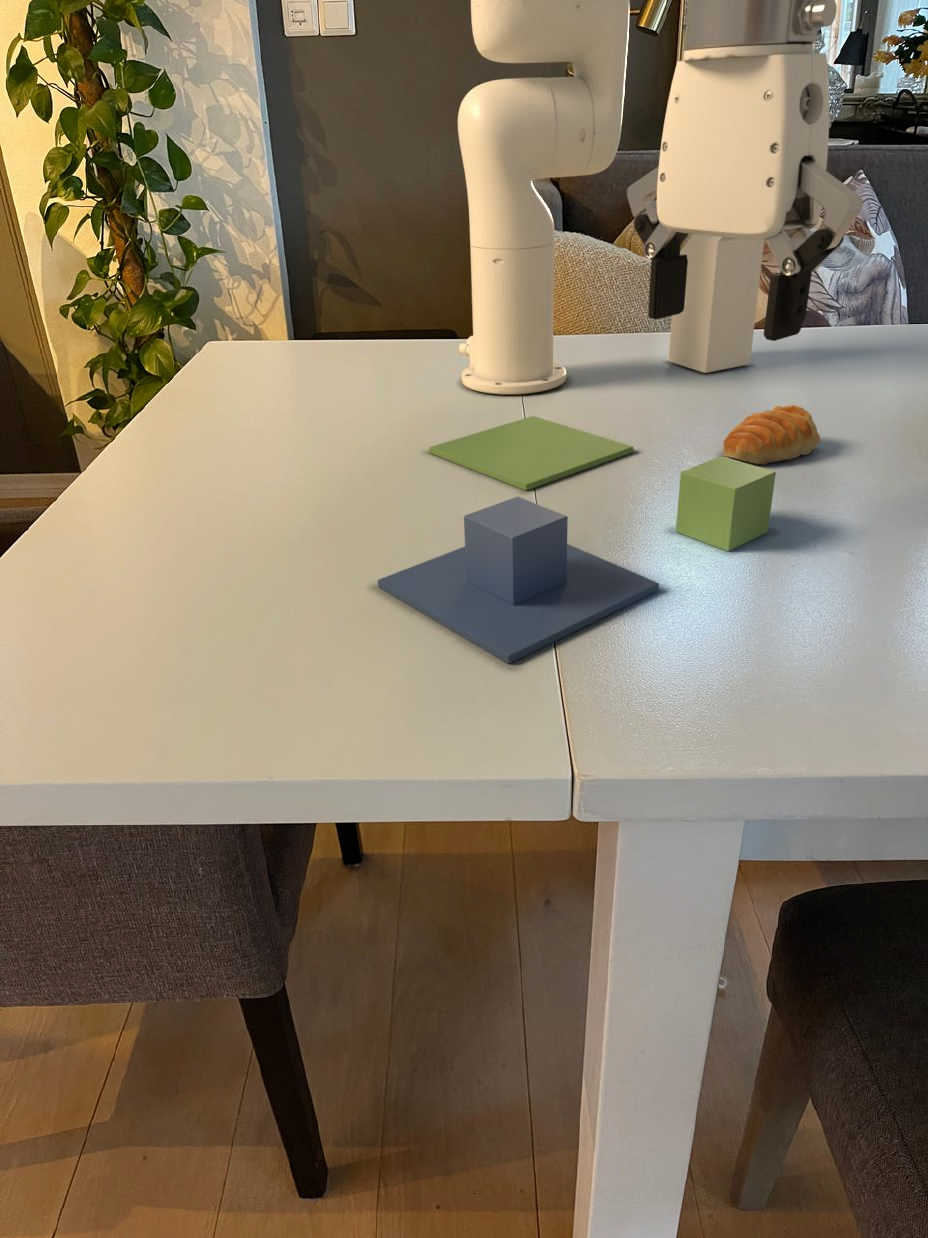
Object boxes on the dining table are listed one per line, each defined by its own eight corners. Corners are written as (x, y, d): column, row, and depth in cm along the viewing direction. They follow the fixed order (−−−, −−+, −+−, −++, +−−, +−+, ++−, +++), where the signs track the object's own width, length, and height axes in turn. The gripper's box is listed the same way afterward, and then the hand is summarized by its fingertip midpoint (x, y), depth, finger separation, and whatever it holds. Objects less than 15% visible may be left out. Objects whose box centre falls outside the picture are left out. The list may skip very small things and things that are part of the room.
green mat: (428, 452, 90) (428, 446, 90) (533, 420, 98) (533, 415, 98) (526, 490, 81) (526, 484, 80) (633, 452, 88) (633, 446, 88)
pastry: (763, 474, 82) (768, 433, 80) (702, 456, 87) (706, 417, 85) (823, 449, 87) (829, 410, 85) (762, 434, 92) (767, 396, 90)
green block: (675, 531, 72) (680, 471, 70) (715, 514, 75) (721, 455, 72) (728, 551, 69) (735, 489, 66) (767, 532, 71) (776, 471, 69)
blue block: (465, 581, 65) (463, 515, 62) (518, 559, 68) (517, 495, 65) (513, 605, 61) (512, 537, 59) (566, 582, 64) (568, 515, 62)
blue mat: (378, 587, 66) (377, 579, 66) (522, 530, 73) (522, 524, 73) (508, 664, 56) (508, 656, 56) (658, 590, 64) (659, 583, 64)
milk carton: (705, 374, 111) (721, 202, 102) (667, 362, 117) (679, 198, 107) (750, 365, 114) (770, 197, 104) (711, 354, 119) (727, 193, 110)
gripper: (923, 18, 51) (867, 335, 59) (677, 39, 63) (659, 301, 71) (847, 16, 47) (799, 357, 55) (599, 39, 59) (591, 317, 67)
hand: (720, 325), depth 63 cm, fingers open, 9 cm apart
